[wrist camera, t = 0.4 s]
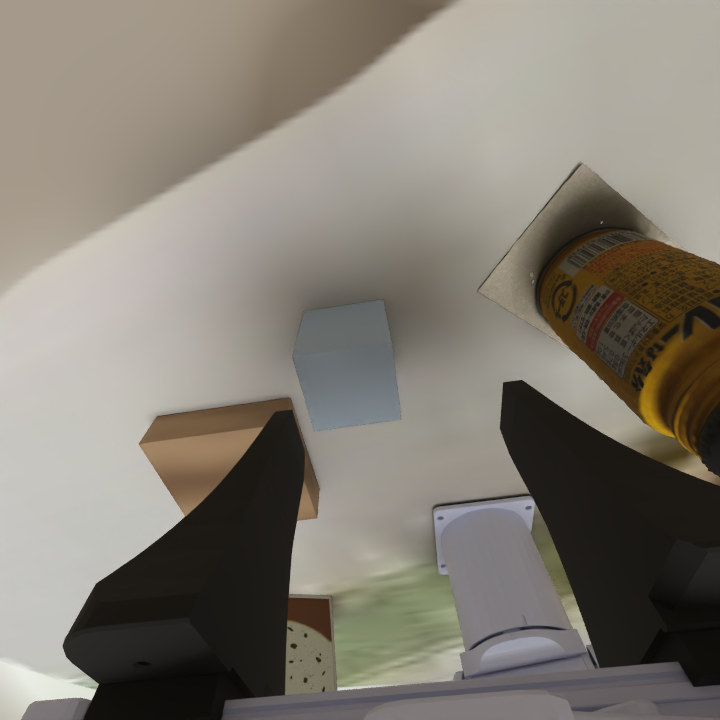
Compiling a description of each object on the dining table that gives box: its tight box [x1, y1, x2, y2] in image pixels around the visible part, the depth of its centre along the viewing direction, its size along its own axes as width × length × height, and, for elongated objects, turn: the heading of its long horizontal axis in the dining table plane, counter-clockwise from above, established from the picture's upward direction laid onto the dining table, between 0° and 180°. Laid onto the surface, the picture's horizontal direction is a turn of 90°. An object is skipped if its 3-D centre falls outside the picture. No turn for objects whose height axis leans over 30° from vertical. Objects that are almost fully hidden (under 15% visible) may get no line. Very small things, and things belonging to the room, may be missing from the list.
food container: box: [285, 594, 337, 695], centre depth 34 cm, size 12×6×10 cm, turn 83°
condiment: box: [478, 163, 720, 477], centre depth 15 cm, size 7×8×12 cm
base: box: [139, 398, 320, 521], centre depth 26 cm, size 9×9×2 cm
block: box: [292, 299, 402, 431], centre depth 20 cm, size 4×4×5 cm
